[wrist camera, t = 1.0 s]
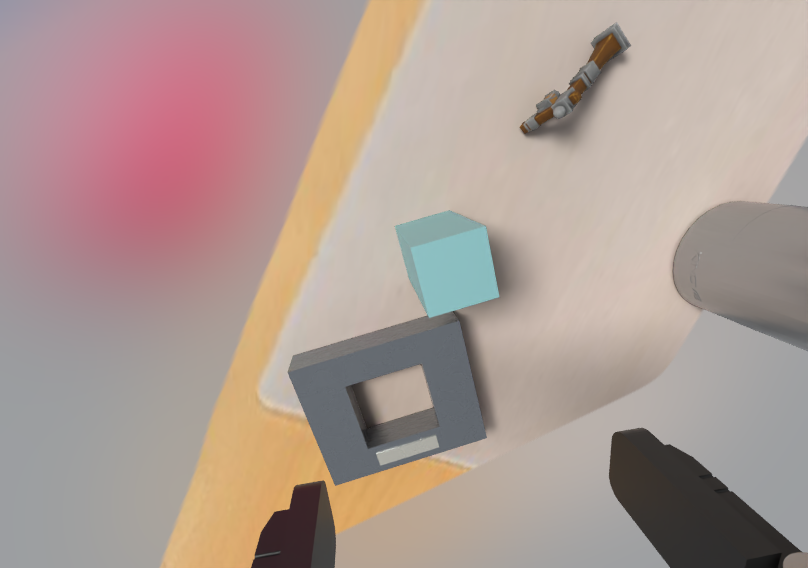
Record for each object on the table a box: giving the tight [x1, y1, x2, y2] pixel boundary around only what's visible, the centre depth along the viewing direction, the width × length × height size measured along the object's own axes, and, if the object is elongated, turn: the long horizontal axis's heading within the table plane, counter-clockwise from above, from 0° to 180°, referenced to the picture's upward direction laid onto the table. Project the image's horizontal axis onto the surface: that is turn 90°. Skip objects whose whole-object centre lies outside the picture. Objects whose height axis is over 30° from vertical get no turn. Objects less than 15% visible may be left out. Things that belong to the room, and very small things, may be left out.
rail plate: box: [288, 311, 487, 486], centre depth 30 cm, size 13×11×3 cm
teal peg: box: [395, 210, 499, 318], centre depth 24 cm, size 4×4×8 cm
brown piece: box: [520, 22, 631, 134], centre depth 25 cm, size 2×8×4 cm, turn 134°
